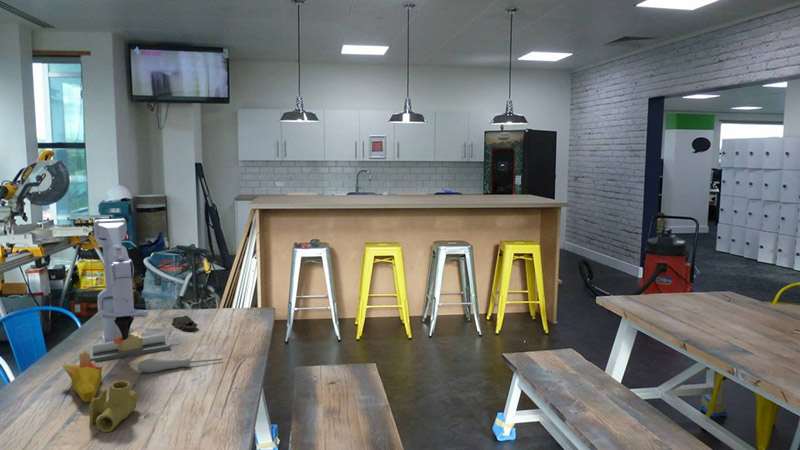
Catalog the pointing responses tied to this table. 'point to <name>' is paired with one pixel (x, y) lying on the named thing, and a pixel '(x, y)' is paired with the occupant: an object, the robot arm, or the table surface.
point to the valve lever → (119, 338)
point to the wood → (184, 324)
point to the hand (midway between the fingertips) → (125, 338)
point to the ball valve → (113, 406)
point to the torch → (84, 376)
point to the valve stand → (128, 347)
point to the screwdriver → (166, 364)
